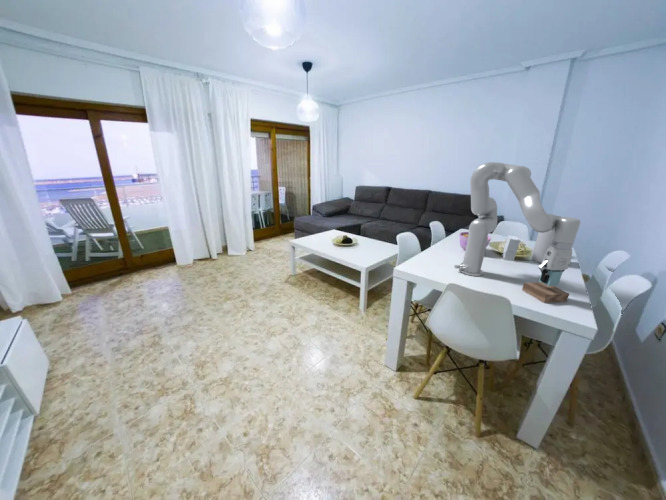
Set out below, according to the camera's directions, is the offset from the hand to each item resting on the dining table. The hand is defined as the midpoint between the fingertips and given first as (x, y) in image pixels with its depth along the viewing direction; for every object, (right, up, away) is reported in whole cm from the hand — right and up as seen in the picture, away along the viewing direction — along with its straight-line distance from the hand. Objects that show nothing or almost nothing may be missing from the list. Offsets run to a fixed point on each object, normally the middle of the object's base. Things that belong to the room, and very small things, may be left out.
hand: (548, 281), depth 119 cm
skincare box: (+15, +9, +50) cm, 53 cm away
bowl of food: (-2, +14, +62) cm, 64 cm away
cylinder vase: (+36, +7, +47) cm, 59 cm away
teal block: (0, -1, 0) cm, 1 cm away
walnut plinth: (0, -7, +3) cm, 8 cm away
